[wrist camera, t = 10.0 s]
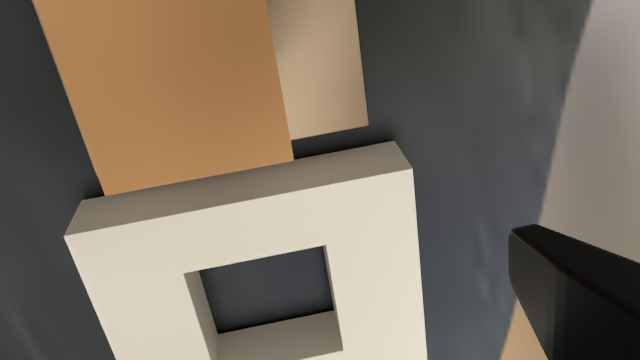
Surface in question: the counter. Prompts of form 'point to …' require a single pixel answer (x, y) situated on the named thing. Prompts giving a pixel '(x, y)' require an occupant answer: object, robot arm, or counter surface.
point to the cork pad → (313, 65)
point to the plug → (170, 87)
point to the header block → (257, 242)
